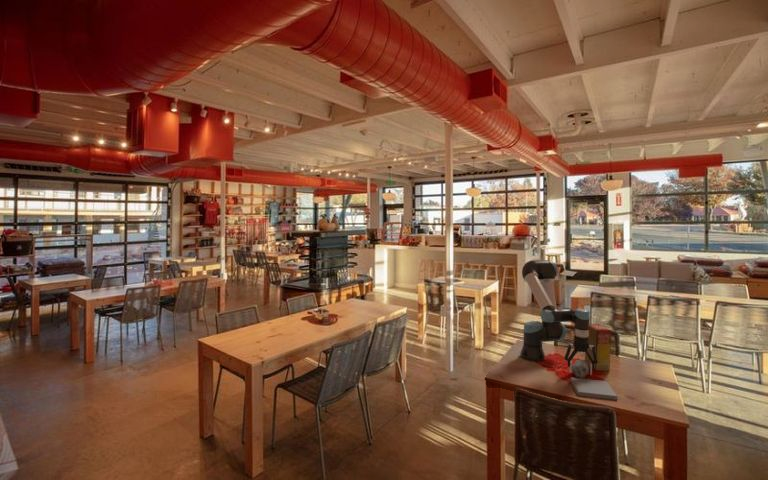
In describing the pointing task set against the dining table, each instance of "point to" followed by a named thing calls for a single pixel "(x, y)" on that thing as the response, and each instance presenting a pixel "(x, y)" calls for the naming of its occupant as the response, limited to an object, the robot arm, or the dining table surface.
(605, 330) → the food packaging
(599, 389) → the plate
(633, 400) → the dining table surface
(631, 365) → the dining table surface
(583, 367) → the spool
